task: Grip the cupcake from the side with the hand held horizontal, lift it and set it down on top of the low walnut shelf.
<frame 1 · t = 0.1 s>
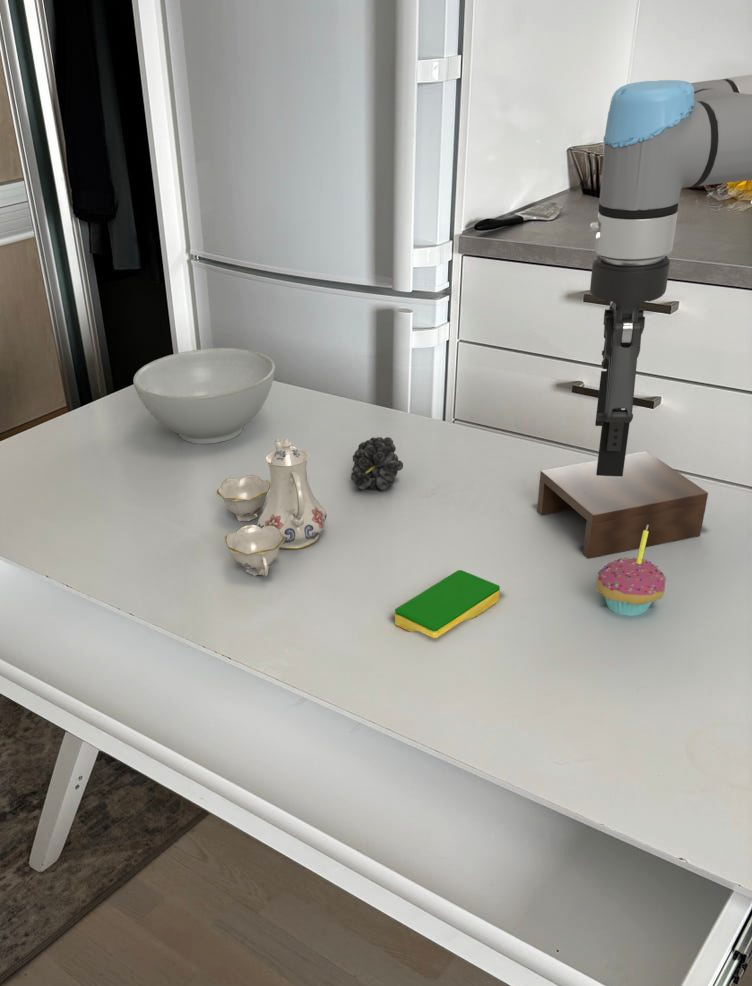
hand: (608, 448, 112), 25 cm above the table, tool pointing down, fingers open, 13 cm apart
chinaware: (274, 540, 153), on the table
decorative bowl: (211, 432, 191), on the table
dish sponge: (447, 613, 132), on the table
cupcake: (627, 612, 129), on the table
shelf: (615, 523, 149), on the table
fruit: (378, 479, 168), on the table
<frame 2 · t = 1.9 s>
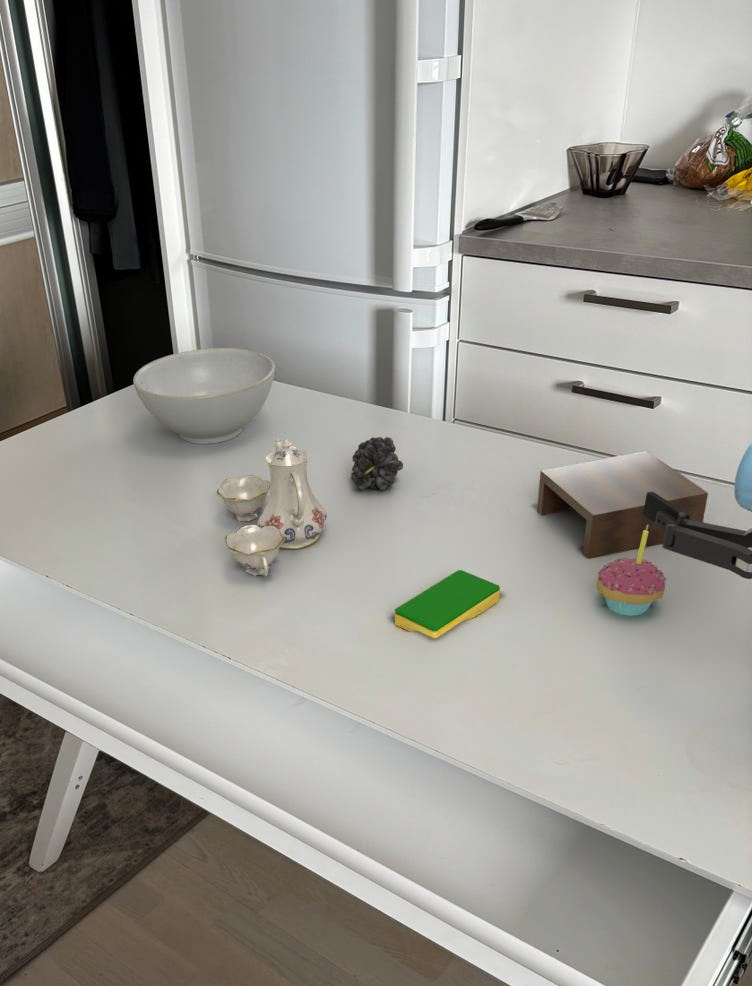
hand: (699, 493, 111), 21 cm above the table, tool horizontal, fingers open, 13 cm apart
nothing on the table moved.
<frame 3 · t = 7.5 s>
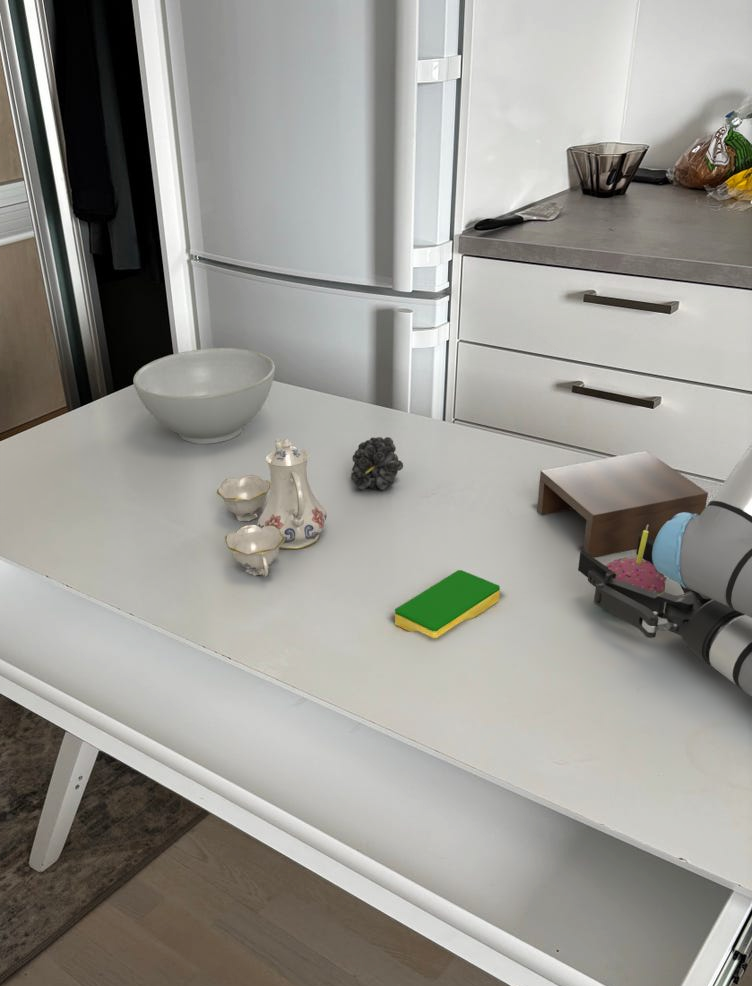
hand: (611, 552, 129), 6 cm above the table, tool horizontal, fingers closed on cupcake, 8 cm apart
cupcake: (626, 612, 129), on the table, touching gripper
everything else where it was.
when the fingers open (13 cm above the table, at t = 15.5 s): cupcake stays where it is, resting on shelf.
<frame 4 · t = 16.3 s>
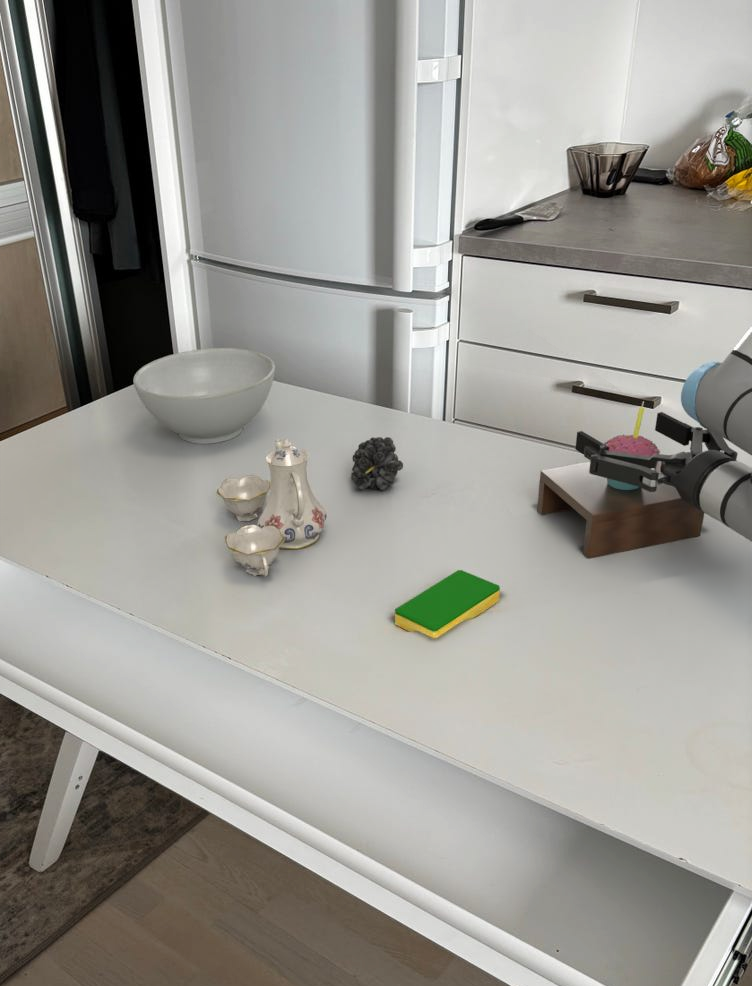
hand: (618, 430, 142), 14 cm above the table, tool horizontal, fingers open, 13 cm apart
cupcake: (624, 485, 144), point 7 cm above the table, touching shelf
everything else where it was.
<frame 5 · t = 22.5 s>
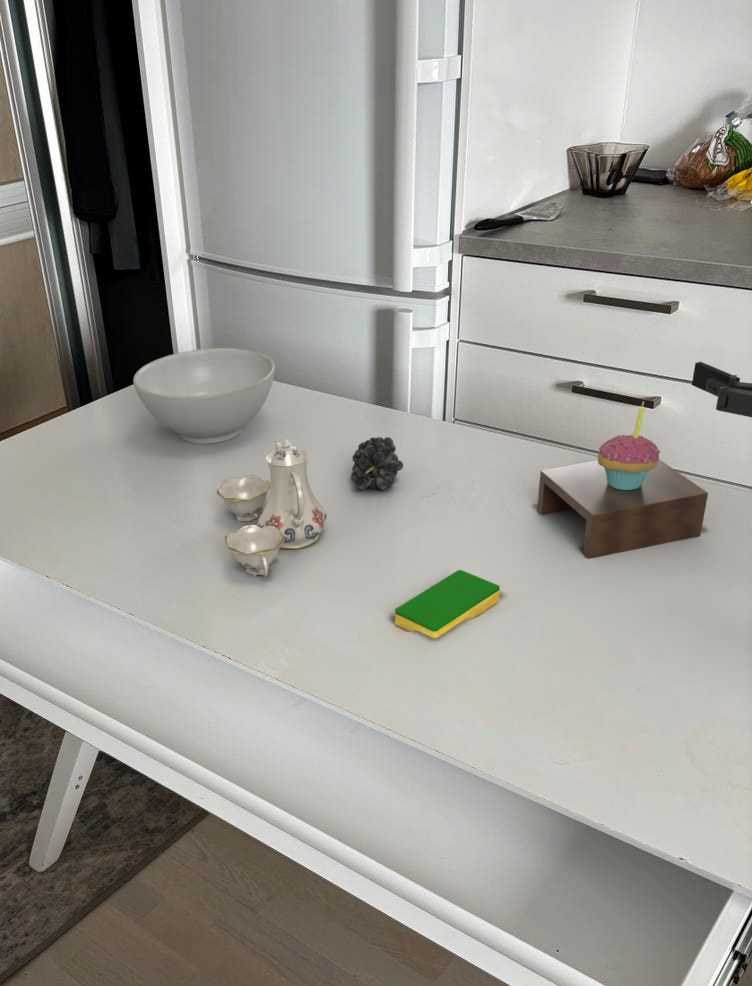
hand: (742, 362, 118), 30 cm above the table, tool horizontal, fingers open, 13 cm apart
nothing on the table moved.
at the end: cupcake inside the target area on the shelf (1.0 cm from its centre), point 6.8 cm above the shelf's base; cupcake tilted 0°; the gripper is holding nothing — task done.
